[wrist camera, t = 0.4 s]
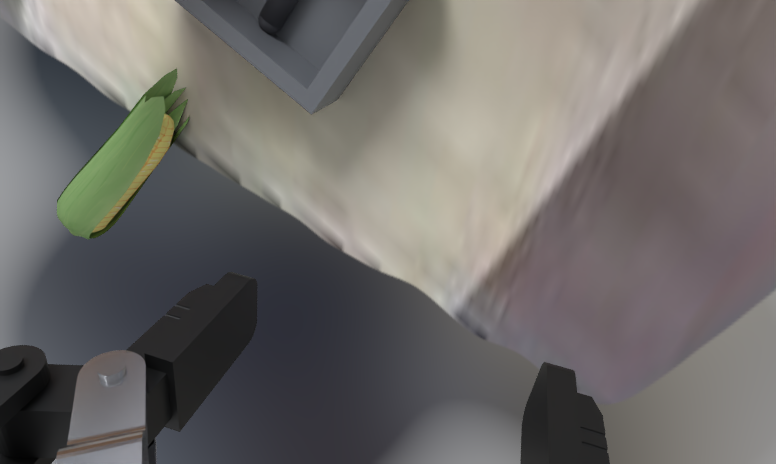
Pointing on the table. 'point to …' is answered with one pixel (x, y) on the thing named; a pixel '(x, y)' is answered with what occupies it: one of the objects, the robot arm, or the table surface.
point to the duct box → (301, 39)
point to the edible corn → (122, 163)
